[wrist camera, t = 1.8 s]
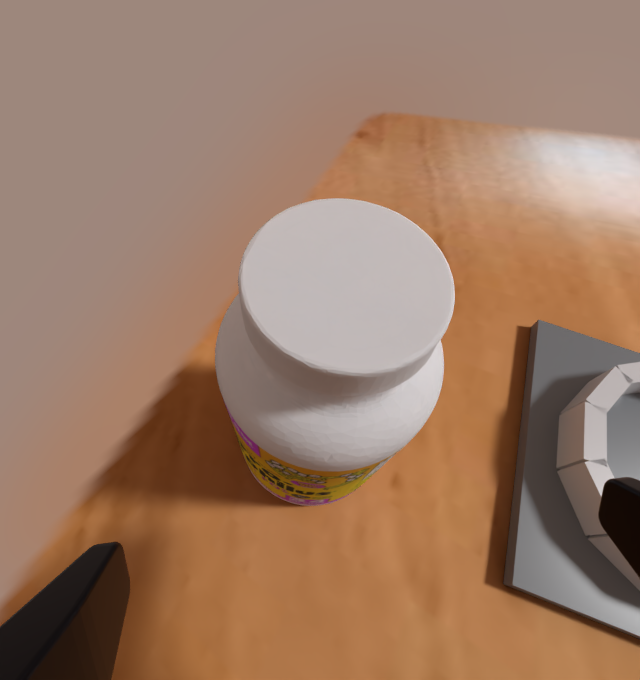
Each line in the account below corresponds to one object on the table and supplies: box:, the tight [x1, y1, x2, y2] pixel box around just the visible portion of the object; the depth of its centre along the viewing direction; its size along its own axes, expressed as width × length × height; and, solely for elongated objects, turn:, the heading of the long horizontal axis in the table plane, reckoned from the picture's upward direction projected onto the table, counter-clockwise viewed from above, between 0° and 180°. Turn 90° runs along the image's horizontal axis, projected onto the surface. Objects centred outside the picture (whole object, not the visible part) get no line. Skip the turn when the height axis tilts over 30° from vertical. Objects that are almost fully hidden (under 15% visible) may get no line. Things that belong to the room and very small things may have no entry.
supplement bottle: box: [215, 198, 455, 506], centre depth 14 cm, size 7×7×13 cm
